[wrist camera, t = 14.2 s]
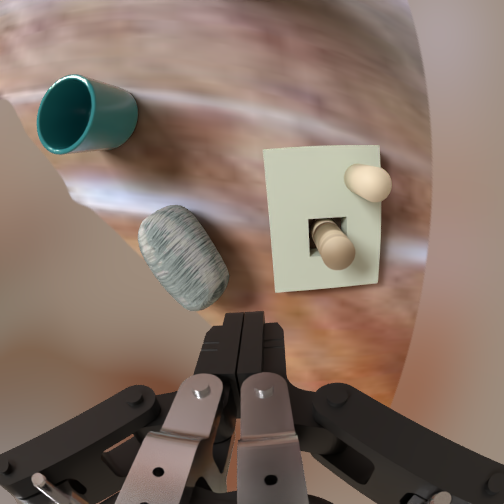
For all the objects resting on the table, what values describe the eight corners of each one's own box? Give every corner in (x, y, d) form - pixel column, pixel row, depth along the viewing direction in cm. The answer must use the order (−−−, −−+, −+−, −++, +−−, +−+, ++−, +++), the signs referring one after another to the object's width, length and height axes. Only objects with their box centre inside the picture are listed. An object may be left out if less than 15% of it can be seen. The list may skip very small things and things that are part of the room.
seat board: (263, 149, 34) (261, 149, 26) (370, 145, 33) (400, 145, 25) (274, 282, 40) (276, 317, 32) (370, 274, 39) (393, 305, 31)
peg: (309, 218, 37) (321, 238, 29) (336, 216, 37) (355, 236, 28) (310, 244, 38) (322, 271, 30) (336, 242, 38) (354, 268, 29)
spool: (255, 286, 37) (202, 321, 29) (207, 298, 43) (157, 327, 35) (215, 187, 36) (152, 198, 28) (173, 213, 42) (117, 228, 34)
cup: (103, 66, 30) (57, 49, 20) (152, 113, 33) (110, 103, 23) (67, 113, 33) (17, 111, 22) (111, 162, 36) (62, 171, 25)
